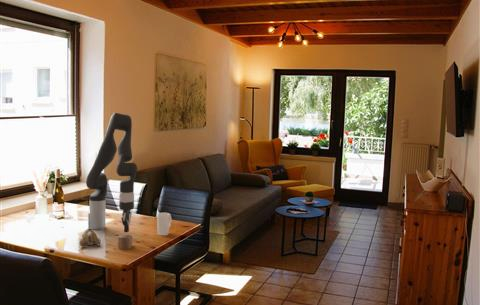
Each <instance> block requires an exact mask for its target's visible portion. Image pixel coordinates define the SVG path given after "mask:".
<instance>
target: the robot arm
mask: <svg viewBox="0 0 480 305" xmlns="http://www.w3.org/2000/svg"><path fill="white" fill-rule="evenodd" d="M132 124H133V123H132V117H131V116H130V115H128V114H123V113H119V112H113V113H112V115H111V116H110V119H109V122H108V125H107V128H106V132H105V136H104V138H103V141H102V143H101V145H100V147H99V150H98V153H97V156H96V157H95V159H94V163H93V165H92V167H91V169H90V171H89V173H88V174H87V176H86V181H85V185H86V187H87V188H88V189H90V190H94V192H92V193H91V194H90V195H89V199H88V200H89V201H88V203H89V208H88V209H89V212H87V214H88V215H87V216H88V218H87V219H88V220H87V225H88V227H87V229H88V228H90V229H92V230H103V229H105V228H106V225H107V224H106V197H107V190H108V178H107V174H106V173H105V172H103V171H104V170H105V169H106V168H107V167H108V166H109V165H110V164H111V163H112V161H113V160H114V158H115V156H116V154H118V161H117V166H116V169H115V170H116V174H117V175H118V176H119V177H129V178H128V179H123V180H121V181H120V182H119V197H118V198H119V205H118V206H119V209H120V210H121V211H122V213H121V224H122V225H123V226H124V227H123V228H124V229H123V231H124V233H129V231H130V223H131V219H132V210H134V209H135V192H134V190H135V189H134V188H135V180H136V176H137V172H138V166H137V164H136V163H135V162H132V159H133V152H132V130H133V129H132ZM116 130H117V131H123V133H124V135H123V137H122V138H121V140H120V141H119V143H118V145H117V144H116V141H115V136H114V134H115V131H116Z"/></svg>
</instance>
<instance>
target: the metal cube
mask: <svg viewBox="0 0 480 305" xmlns="http://www.w3.org/2000/svg"><path fill="white" fill-rule="evenodd" d="M117 242H118V248H117V249H120V250H123V249H125V250H130V249H131V248H132V247H133V233H132V234H131V233H128V234H127V233H126V234H125V233H124V234H123V233H121V234H120V235H119V236H118V241H117ZM131 246H132V247H131Z"/></svg>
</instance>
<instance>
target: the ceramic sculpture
mask: <svg viewBox="0 0 480 305" xmlns="http://www.w3.org/2000/svg"><path fill="white" fill-rule="evenodd" d="M81 237H82V239H80V241H79V245H80V247H85V246H92V245H96V246H97V245H99V246H100V245H101V244H102V242H101V241H102V240H101V238H100V237H98V235H97V233H96V231H95V230H94V229H90V228H88V227H87V228H86V229H85V230H84V232H83V233H82V235H81Z"/></svg>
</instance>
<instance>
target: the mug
mask: <svg viewBox="0 0 480 305" xmlns="http://www.w3.org/2000/svg"><path fill="white" fill-rule="evenodd" d="M156 216H157V218H156V220H157V222H156V223H157V236H158V235H159V236H168V235H169V230H170V228H171V225H172V220H173V219H172V216H171V213H169V212H159V213H157V214H156Z"/></svg>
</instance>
